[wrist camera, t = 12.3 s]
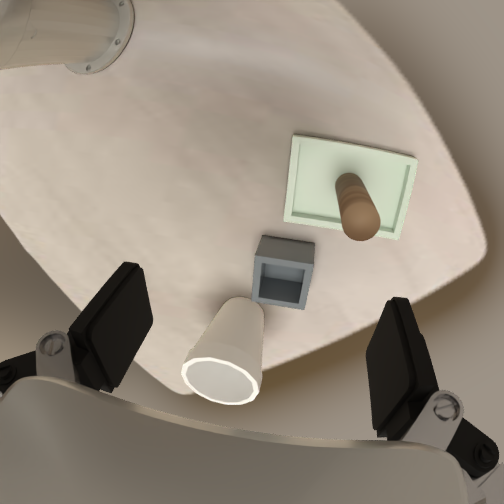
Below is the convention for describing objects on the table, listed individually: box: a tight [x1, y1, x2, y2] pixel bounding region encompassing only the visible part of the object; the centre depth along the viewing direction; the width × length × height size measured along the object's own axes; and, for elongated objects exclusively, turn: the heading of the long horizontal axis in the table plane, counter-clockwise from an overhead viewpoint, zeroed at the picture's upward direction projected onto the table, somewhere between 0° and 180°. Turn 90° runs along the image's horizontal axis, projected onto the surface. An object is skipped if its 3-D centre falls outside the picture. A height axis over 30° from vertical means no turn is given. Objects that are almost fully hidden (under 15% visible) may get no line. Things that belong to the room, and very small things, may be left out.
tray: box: [283, 134, 418, 240], centre depth 31 cm, size 14×10×2 cm
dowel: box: [335, 173, 381, 241], centre depth 27 cm, size 3×3×10 cm
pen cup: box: [251, 235, 315, 310], centre depth 36 cm, size 6×6×5 cm
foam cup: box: [181, 297, 264, 405], centre depth 38 cm, size 10×9×13 cm
